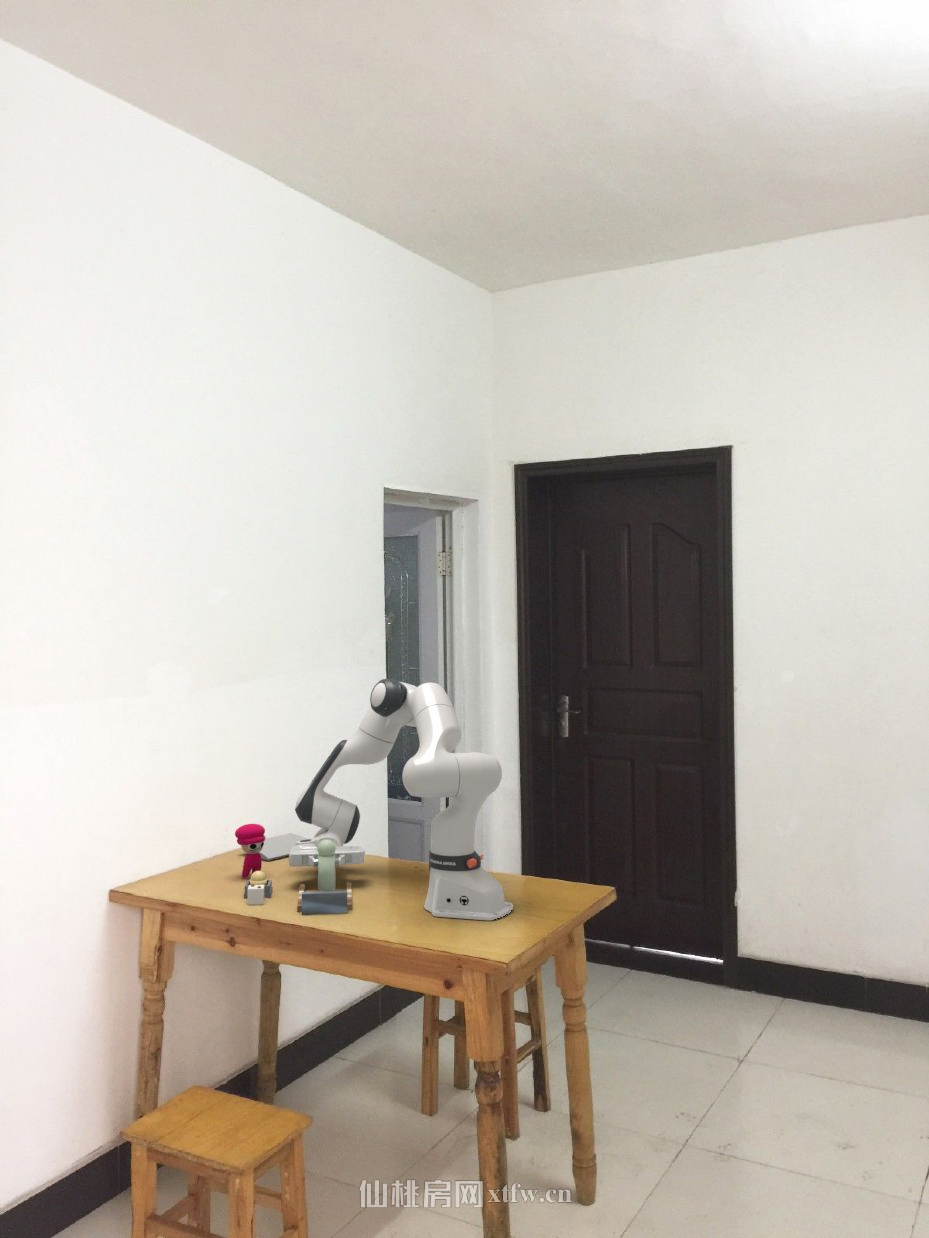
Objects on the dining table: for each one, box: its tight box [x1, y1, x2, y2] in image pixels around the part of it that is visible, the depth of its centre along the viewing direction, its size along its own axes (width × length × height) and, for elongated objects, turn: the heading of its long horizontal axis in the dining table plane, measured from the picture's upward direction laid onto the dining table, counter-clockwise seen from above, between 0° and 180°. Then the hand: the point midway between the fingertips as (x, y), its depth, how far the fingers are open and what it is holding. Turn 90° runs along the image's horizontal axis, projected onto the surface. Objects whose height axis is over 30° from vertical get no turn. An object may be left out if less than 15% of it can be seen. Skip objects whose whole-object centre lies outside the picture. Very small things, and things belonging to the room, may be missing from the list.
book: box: [238, 832, 308, 861], centre depth 325 cm, size 15×23×4 cm, turn 141°
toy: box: [234, 823, 266, 879], centre depth 295 cm, size 8×8×15 cm
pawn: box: [317, 840, 336, 892], centre depth 279 cm, size 5×5×13 cm
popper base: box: [243, 879, 274, 900], centre depth 278 cm, size 7×7×3 cm
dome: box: [249, 870, 268, 885], centre depth 278 cm, size 4×4×4 cm
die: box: [247, 884, 266, 906], centre depth 270 cm, size 4×4×4 cm
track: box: [296, 882, 353, 915], centre depth 272 cm, size 24×14×5 cm, turn 7°
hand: (326, 863), depth 278 cm, fingers closed on pawn, 5 cm apart
